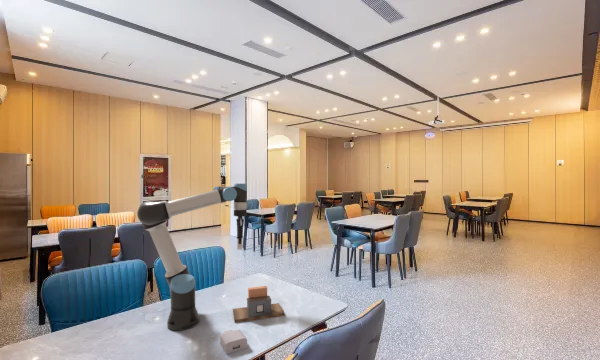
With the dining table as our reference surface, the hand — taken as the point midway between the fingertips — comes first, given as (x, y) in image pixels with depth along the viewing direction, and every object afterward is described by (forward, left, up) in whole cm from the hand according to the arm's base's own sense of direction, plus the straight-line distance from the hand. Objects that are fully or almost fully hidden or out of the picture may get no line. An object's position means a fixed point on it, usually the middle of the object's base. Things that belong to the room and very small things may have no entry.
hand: (239, 249), depth 182 cm
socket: (+8, -22, -30) cm, 38 cm away
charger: (-8, -45, -32) cm, 56 cm away
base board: (+8, -18, -32) cm, 37 cm away
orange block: (+8, -21, -30) cm, 37 cm away
